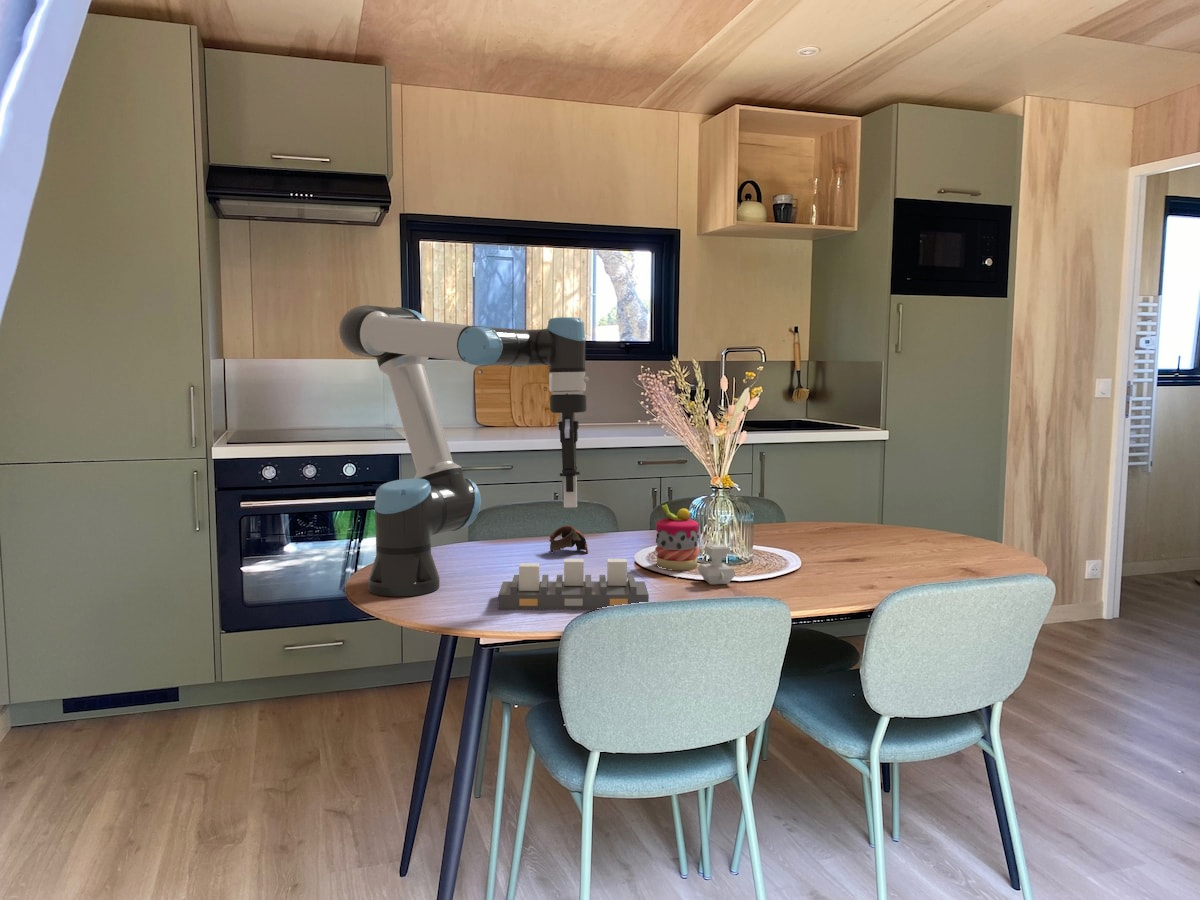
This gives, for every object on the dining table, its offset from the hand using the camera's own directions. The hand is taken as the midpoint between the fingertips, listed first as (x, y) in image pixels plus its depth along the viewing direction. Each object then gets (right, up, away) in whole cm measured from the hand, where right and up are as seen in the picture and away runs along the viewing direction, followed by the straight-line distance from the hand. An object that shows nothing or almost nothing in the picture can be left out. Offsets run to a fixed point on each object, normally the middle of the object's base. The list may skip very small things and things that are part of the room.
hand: (570, 506), depth 185 cm
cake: (+25, -17, +32) cm, 44 cm away
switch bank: (+1, -20, -2) cm, 20 cm away
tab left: (-8, -17, -4) cm, 19 cm away
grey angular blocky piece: (+32, -18, +15) cm, 40 cm away
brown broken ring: (-2, -15, +48) cm, 50 cm away
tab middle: (+1, -16, +1) cm, 16 cm away
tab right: (+10, -16, +1) cm, 19 cm away
